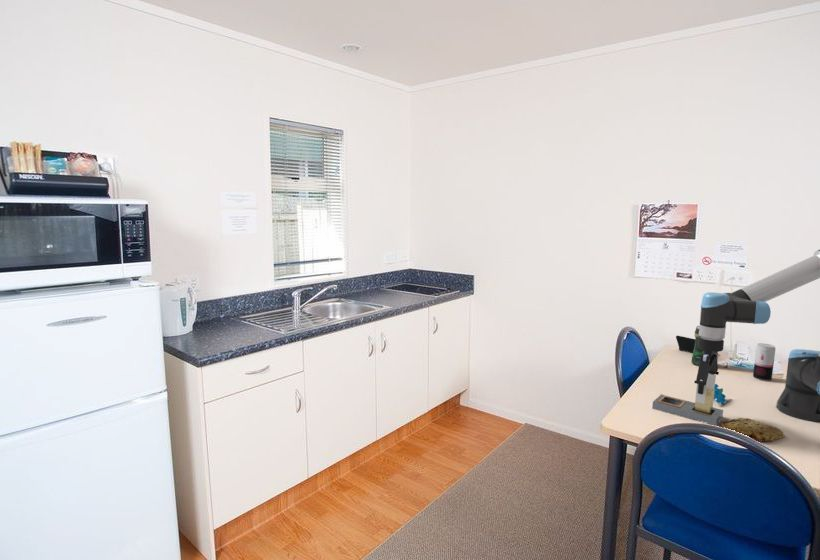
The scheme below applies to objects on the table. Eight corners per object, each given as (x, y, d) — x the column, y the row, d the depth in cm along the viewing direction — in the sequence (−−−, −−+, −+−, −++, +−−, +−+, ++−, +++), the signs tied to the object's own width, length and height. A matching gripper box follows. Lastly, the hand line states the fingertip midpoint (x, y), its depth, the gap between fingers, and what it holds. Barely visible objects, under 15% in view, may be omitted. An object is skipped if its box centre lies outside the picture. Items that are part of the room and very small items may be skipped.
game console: (719, 355, 237) (720, 338, 236) (705, 359, 230) (707, 341, 229) (687, 348, 250) (689, 331, 249) (673, 351, 243) (675, 334, 242)
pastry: (794, 449, 142) (795, 440, 142) (727, 438, 148) (728, 429, 148) (774, 425, 158) (775, 417, 157) (714, 417, 164) (715, 409, 164)
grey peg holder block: (722, 416, 163) (723, 409, 163) (716, 425, 156) (717, 417, 156) (660, 400, 177) (661, 393, 177) (652, 408, 170) (652, 401, 170)
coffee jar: (690, 365, 220) (694, 327, 218) (691, 361, 227) (695, 323, 224) (715, 369, 215) (719, 330, 212) (715, 364, 221) (719, 326, 219)
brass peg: (711, 416, 163) (714, 389, 162) (708, 420, 160) (711, 393, 159) (697, 413, 166) (699, 386, 165) (693, 416, 163) (696, 389, 162)
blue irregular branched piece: (718, 403, 171) (702, 378, 177) (705, 410, 175) (689, 386, 180) (733, 401, 177) (717, 377, 182) (719, 408, 181) (703, 384, 186)
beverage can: (775, 380, 201) (779, 346, 199) (765, 382, 199) (769, 348, 197) (759, 375, 207) (763, 342, 205) (749, 377, 205) (753, 344, 203)
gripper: (707, 329, 171) (701, 385, 174) (689, 342, 153) (683, 403, 156) (731, 333, 166) (725, 390, 169) (715, 347, 148) (709, 410, 151)
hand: (704, 397), depth 162 cm, fingers open, 13 cm apart
